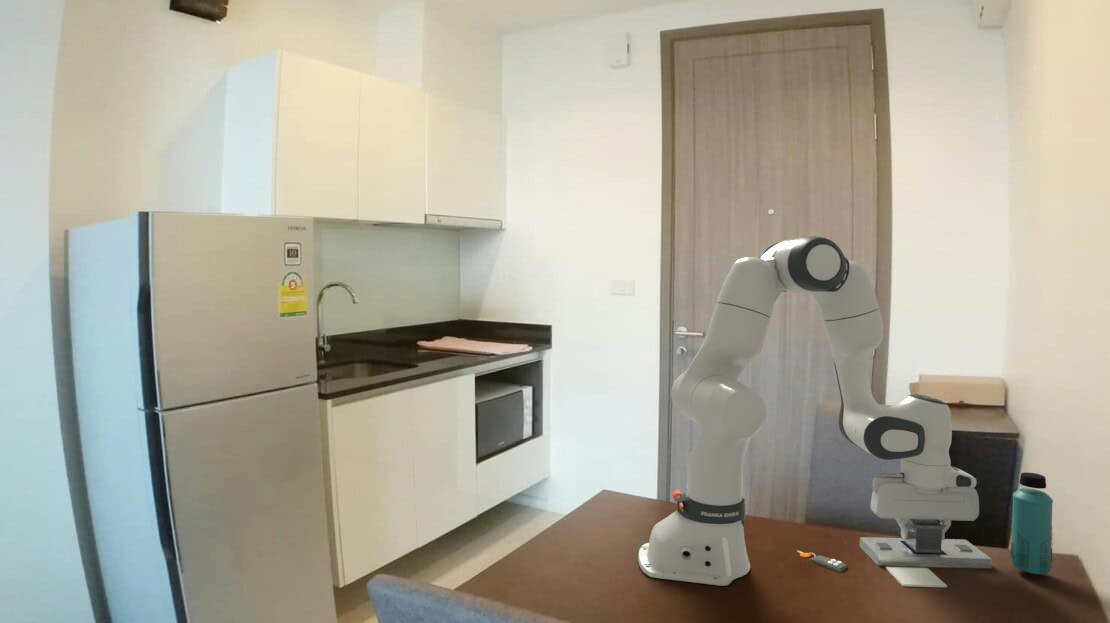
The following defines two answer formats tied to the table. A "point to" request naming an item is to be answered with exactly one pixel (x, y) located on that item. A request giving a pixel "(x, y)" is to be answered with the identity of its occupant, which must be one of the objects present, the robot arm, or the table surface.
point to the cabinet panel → (898, 554)
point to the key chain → (826, 562)
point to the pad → (915, 577)
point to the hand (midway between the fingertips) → (922, 538)
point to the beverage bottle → (1032, 526)
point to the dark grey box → (924, 536)
